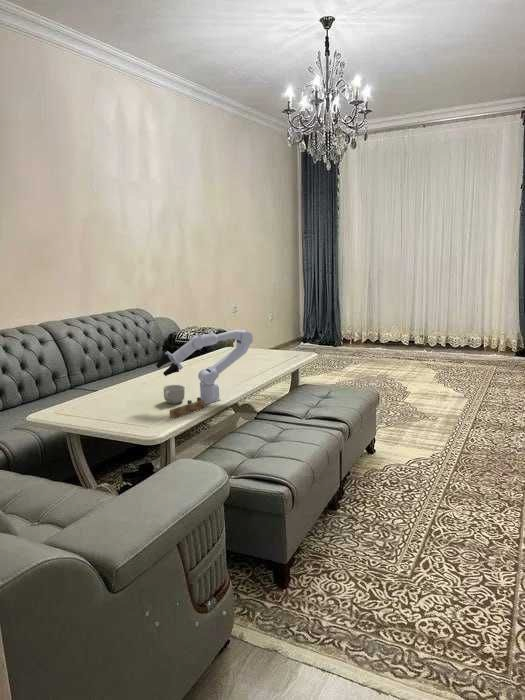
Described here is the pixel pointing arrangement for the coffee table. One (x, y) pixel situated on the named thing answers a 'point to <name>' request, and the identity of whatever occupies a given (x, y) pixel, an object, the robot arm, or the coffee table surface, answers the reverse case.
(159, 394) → the coffee table surface
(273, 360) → the coffee table surface
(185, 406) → the stop rail
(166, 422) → the coffee table surface
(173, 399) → the teacup
